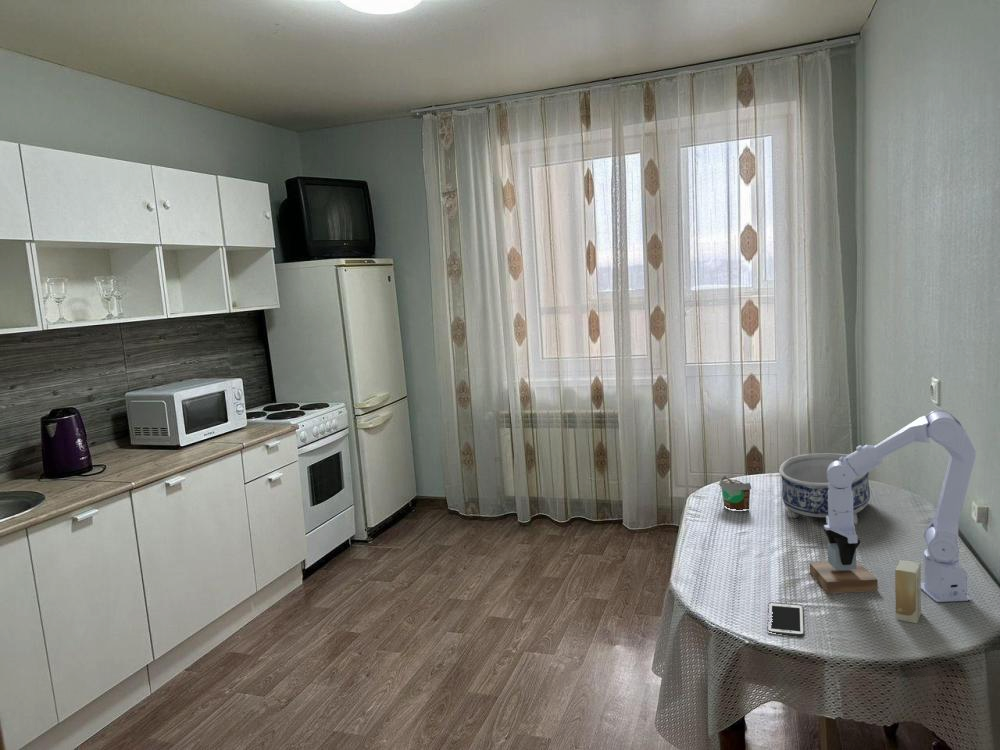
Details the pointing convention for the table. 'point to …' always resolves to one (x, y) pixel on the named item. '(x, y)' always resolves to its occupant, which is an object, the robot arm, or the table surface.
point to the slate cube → (838, 558)
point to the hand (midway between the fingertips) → (842, 559)
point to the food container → (735, 493)
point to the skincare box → (908, 591)
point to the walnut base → (843, 578)
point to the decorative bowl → (816, 485)
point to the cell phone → (786, 619)
